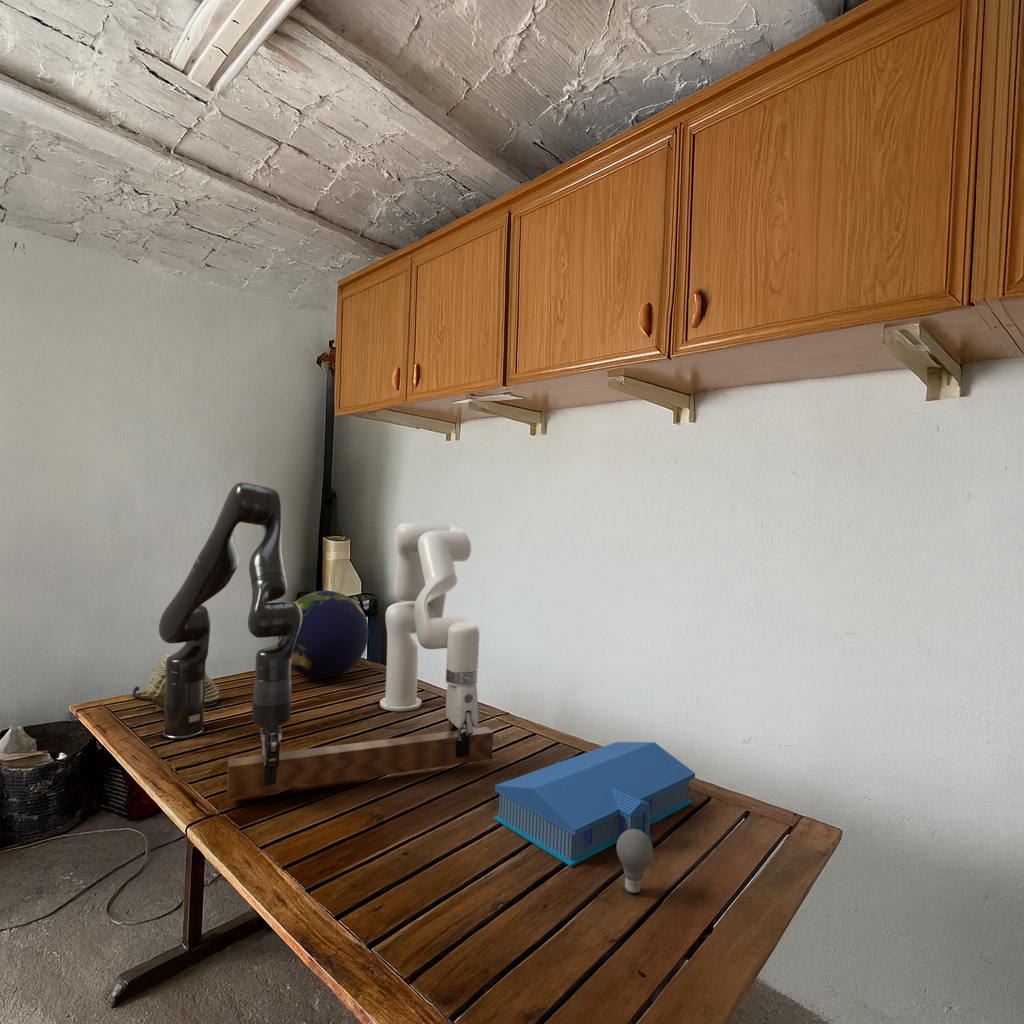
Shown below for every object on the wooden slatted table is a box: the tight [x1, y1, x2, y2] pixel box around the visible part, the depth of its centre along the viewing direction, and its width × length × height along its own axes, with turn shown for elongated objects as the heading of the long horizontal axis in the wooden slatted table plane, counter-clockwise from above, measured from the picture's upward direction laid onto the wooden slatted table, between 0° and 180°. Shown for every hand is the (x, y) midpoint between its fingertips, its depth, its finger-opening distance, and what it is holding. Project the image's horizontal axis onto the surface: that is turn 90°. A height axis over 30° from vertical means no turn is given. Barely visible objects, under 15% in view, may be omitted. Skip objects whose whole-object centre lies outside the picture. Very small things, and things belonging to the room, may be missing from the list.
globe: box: [277, 590, 369, 680], centre depth 219 cm, size 30×30×30 cm
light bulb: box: [615, 829, 654, 894], centre depth 106 cm, size 6×6×10 cm
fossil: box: [147, 654, 221, 712], centre depth 185 cm, size 9×18×15 cm, turn 132°
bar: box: [226, 726, 494, 799], centre depth 141 cm, size 58×4×6 cm, turn 116°
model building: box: [493, 741, 696, 868], centre depth 132 cm, size 39×24×10 cm, turn 132°
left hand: (269, 779), depth 132 cm, fingers closed on bar, 4 cm apart
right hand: (458, 751), depth 150 cm, fingers closed on bar, 4 cm apart
